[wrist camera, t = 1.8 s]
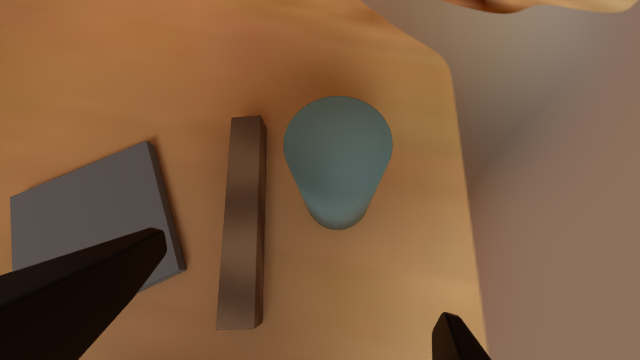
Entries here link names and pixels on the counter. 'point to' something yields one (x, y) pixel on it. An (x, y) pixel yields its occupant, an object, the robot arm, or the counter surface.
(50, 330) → the robot arm
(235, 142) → the bar
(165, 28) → the counter surface
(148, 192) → the mat
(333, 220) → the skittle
